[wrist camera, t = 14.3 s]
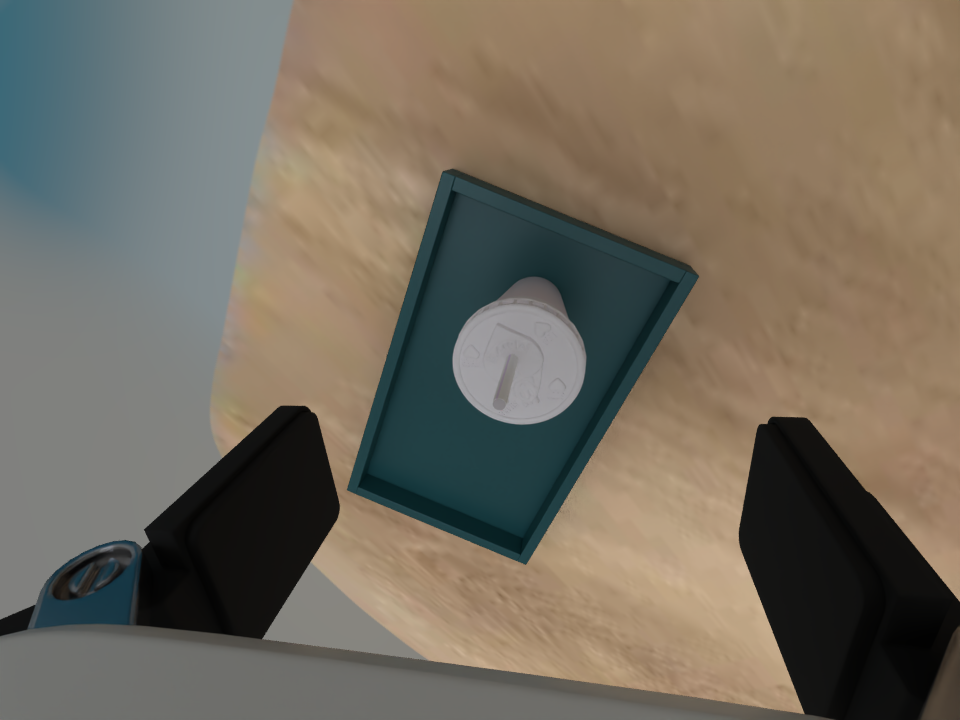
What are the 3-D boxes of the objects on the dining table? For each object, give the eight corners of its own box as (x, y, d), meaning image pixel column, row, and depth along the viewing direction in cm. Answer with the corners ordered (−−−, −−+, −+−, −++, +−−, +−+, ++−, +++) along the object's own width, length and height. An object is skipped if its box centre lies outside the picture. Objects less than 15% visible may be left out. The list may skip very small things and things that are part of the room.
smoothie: (564, 239, 29) (554, 316, 17) (597, 332, 31) (611, 463, 19) (469, 276, 31) (398, 369, 19) (506, 361, 33) (464, 496, 21)
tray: (690, 265, 29) (699, 276, 27) (528, 542, 41) (526, 565, 39) (452, 168, 29) (442, 170, 27) (358, 471, 41) (346, 490, 39)
